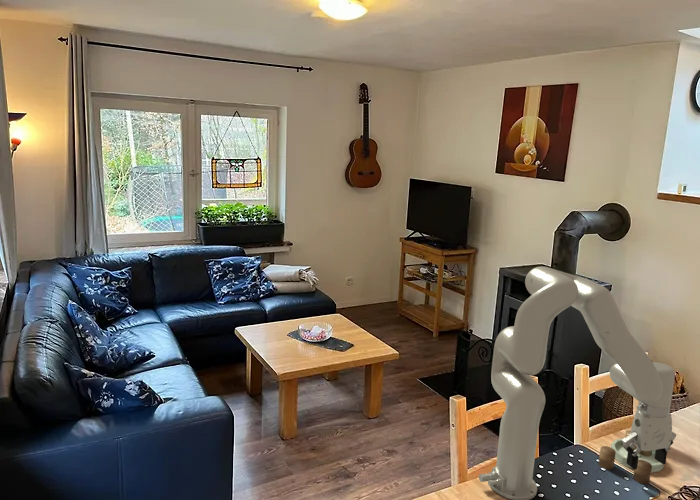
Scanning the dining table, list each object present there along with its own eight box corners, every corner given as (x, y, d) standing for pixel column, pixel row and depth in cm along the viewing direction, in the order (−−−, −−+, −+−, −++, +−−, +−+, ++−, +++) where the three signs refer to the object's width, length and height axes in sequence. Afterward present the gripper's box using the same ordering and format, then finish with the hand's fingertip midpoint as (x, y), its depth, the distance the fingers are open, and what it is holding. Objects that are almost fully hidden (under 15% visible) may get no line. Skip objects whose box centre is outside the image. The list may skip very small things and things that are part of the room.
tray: (635, 475, 151) (638, 456, 149) (600, 448, 164) (603, 430, 163) (674, 469, 154) (678, 450, 153) (637, 443, 168) (640, 426, 166)
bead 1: (605, 470, 152) (607, 454, 152) (595, 462, 156) (597, 446, 155) (616, 468, 154) (618, 453, 153) (606, 460, 157) (608, 445, 156)
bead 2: (640, 485, 146) (643, 468, 145) (629, 476, 150) (632, 460, 149) (652, 483, 147) (655, 467, 146) (641, 474, 151) (644, 458, 150)
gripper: (638, 418, 139) (630, 476, 142) (690, 410, 143) (682, 467, 147) (617, 404, 146) (610, 460, 149) (667, 398, 150) (659, 452, 154)
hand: (645, 464), depth 148 cm, fingers open, 9 cm apart
